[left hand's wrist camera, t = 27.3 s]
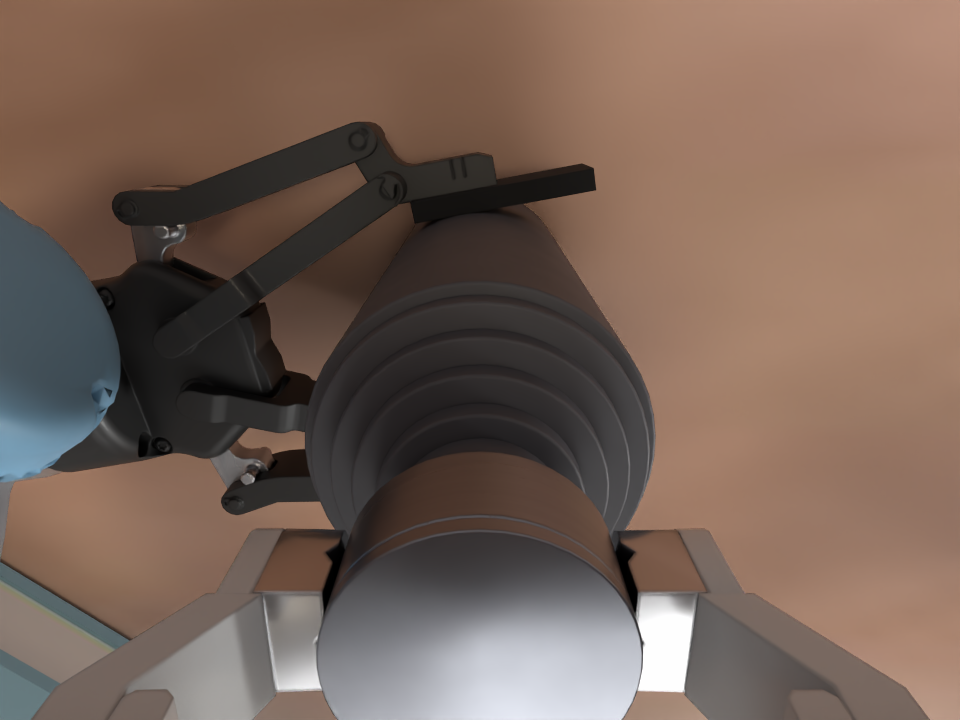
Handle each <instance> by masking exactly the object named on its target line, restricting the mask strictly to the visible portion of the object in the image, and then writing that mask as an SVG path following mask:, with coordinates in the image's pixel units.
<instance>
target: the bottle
mask: <svg viewBox="0 0 960 720" xmlns="http://www.w3.org/2000/svg"><path fill="white" fill-rule="evenodd" d="M305 450H306V457H307V464H308V469H309V472H310V476H311V479H312V483H313V486H314V489H315V491H316V493H317V495H318V497H319V500H320V502H321V504H322V506H323V509H324V511H325V513H326V515H327V517H328V519H329V520H330V522H331V524H332V525H333V527H334V528H335V530H346V532H347V534H348V539H349V536H350V533H351V530H352V527H353V525H354V523H355V521H356V519H357V517H358V515H359V513H360V512H361V510H362V509H363V508H364V506H365V505H366V503H367V502H368V501H369V499H370V498H371V497H372V496H373V495H374V494H375V493H376V492H377V491H378V490H379V489H380V488H381V487H382V486H384V485H385V484H386V483H387V482H389V481H390V480H391V479H393V478H394V477H395V476H397V475H399V474H400V473H402V472H404V471H406V470H407V469H409V468H411V467H413V466H415V465H418V464H420V463H422V462H425V461H427V460H430V459H434V458H437V457H441V456H444V455H450V454H456V453H462V452H479V451H482V452H498V453H504V454H510V455H515V456H519V457H523V458H526V459H529V460H532V461H535V462H537V463H540V464H542V465H544V466H546V467H549V468H551V469H553V470H554V471H556V472H558V473H559V474H561V475H562V476H564V477H566V478H567V479H569V480H570V481H571V482H572V483H573V484H575V485H576V486H577V487H578V488H580V489H581V490H582V491H583V492H584V494H585V495H586V496H587V497H588V498H589V499H590V500H591V501H592V502H593V504H594V505H595V507H596V508H597V510H598V511H599V512H600V514H601V516H602V518H603V520H604V522H605V524H606V526H607V528H608V531H609V534H610V537H611V540H612V535H613V531H623V530H625V529H626V527H627V526H628V525H629V523H630V521H631V519H632V517H633V515H634V513H635V511H636V509H637V508H638V505H639V502H640V500H641V498H642V497H643V494H644V491H645V488H646V486H647V483H648V480H649V478H650V474H651V469H652V464H653V460H654V451H655V424H654V414H653V410H652V405H651V401H650V397H649V393H648V391H647V388H646V386H645V383H644V381H643V378H642V376H641V374H640V372H639V370H638V369H637V367H636V365H635V363H634V362H633V360H632V358H631V356H630V355H629V353H628V352H627V350H626V349H625V347H624V346H623V344H622V342H621V341H620V339H619V338H618V336H617V335H616V333H615V332H614V330H613V329H612V327H611V326H610V324H609V322H608V321H607V319H606V318H605V316H604V315H603V313H602V312H601V310H600V309H599V307H598V306H597V304H596V302H595V301H594V299H593V298H592V296H591V295H590V293H589V292H588V290H587V289H586V287H585V286H584V284H583V282H582V281H581V279H580V278H579V276H578V275H577V273H576V272H575V270H574V269H573V267H572V266H571V264H570V262H569V261H568V259H567V258H566V256H565V255H564V253H563V252H562V250H561V249H560V247H559V246H558V244H557V242H556V241H555V239H554V238H553V236H552V235H551V233H550V232H549V230H548V229H547V227H546V226H545V225H544V223H543V222H542V221H541V219H540V218H539V217H538V216H537V215H536V214H535V213H534V212H533V211H531V210H530V209H529V208H527V207H526V206H525V205H523V204H519V205H513V206H508V207H502V208H497V209H492V210H486V211H481V212H475V213H470V214H464V215H459V216H454V217H448V218H443V219H438V220H432V221H427V222H421V223H417V224H416V225H415V227H414V228H413V230H412V231H411V233H410V234H409V236H408V238H407V239H406V241H405V242H404V244H403V245H402V247H401V248H400V250H399V251H398V253H397V254H396V256H395V257H394V259H393V260H392V262H391V264H390V265H389V267H388V268H387V270H386V271H385V273H384V274H383V276H382V277H381V279H380V280H379V282H378V283H377V285H376V287H375V288H374V290H373V291H372V293H371V294H370V296H369V297H368V299H367V300H366V302H365V303H364V305H363V306H362V308H361V309H360V311H359V313H358V314H357V316H356V317H355V319H354V320H353V322H352V323H351V325H350V326H349V328H348V329H347V331H346V332H345V334H344V335H343V337H342V339H341V340H340V342H339V343H338V345H337V346H336V348H335V349H334V351H333V352H332V354H331V355H330V357H329V358H328V360H327V362H326V363H325V365H324V366H323V368H322V371H321V373H320V375H319V377H318V379H317V381H316V383H315V385H314V388H313V392H312V395H311V398H310V401H309V405H308V410H307V417H306V423H305Z"/></svg>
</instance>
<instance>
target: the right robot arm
mask: <svg viewBox="0 0 960 720" xmlns="http://www.w3.org/2000/svg"><path fill="white" fill-rule="evenodd" d="M354 162H355V163H356V164H357V166H358V168H359V169H360V171H361V172H362V174H363V176H364V177H365V179H366V180H367V182H368V183H366V184H365V185H364V186H362V187H361V188H359V189H358V190H356V191H355V192H354V193H352V194H351V195H349V196H348V197H347V198H345V199H344V200H342V201H341V202H339V203H338V204H337V205H335V206H334V207H332V208H331V209H330V210H328V211H327V212H325V213H324V214H322V215H321V216H320V217H318V218H317V219H315V220H314V221H313V222H311V223H310V224H308V225H307V226H305V227H304V228H303V229H301V230H300V231H298V232H297V233H296V234H294V235H293V236H291V237H290V238H288V239H287V240H286V241H284V242H283V243H281V244H280V245H279V246H277V247H276V248H274V249H273V250H271V251H270V252H269V253H267V254H266V255H264V256H263V257H261V258H260V259H259V260H257V261H256V262H254V263H253V264H252V265H250V266H249V267H247V268H246V269H244V270H243V271H242V272H240V273H239V274H237V275H236V276H234V277H233V278H231V279H230V280H228V281H227V280H225V279H223V278H220V277H218V276H216V275H213V274H211V273H209V272H207V271H204V270H202V269H200V268H198V267H195V266H193V265H191V264H189V263H186V262H184V261H182V260H180V259H177V258H175V257H173V251H174V248H175V246H176V245H177V244H178V243H181V242H183V241H186V240H188V239H190V238H191V237H193V236H194V234H195V232H196V221H199V220H202V219H205V218H208V217H211V216H213V215H216V214H219V213H222V212H225V211H228V210H230V209H233V208H236V207H238V206H241V205H244V204H246V203H249V202H251V201H254V200H257V199H259V198H262V197H265V196H267V195H270V194H273V193H275V192H278V191H281V190H283V189H286V188H288V187H291V186H294V185H296V184H299V183H302V182H304V181H307V180H310V179H312V178H315V177H318V176H320V175H323V174H325V173H328V172H331V171H333V170H336V169H339V168H341V167H344V166H347V165H349V164H352V163H354ZM594 190H596V185H595V176H594V168H592V167H589V166H587V165H584V164H577V165H572V166H567V167H561V168H556V169H551V170H545V171H540V172H535V173H529V174H524V175H519V176H513V177H508V178H503V179H497V180H496V174H495V168H494V162H493V157H492V155H489V154H484V153H479V152H476V153H471V154H466V155H460V156H455V157H450V158H445V159H439V160H434V161H429V162H424V163H419V164H409V163H406V162H404V161H402V160H401V159H399V158H398V157H397V155H396V154H395V153H394V151H393V149H392V148H391V146H390V144H389V143H388V141H387V139H386V138H385V134H384V132H383V130H382V128H381V127H380V126H378V125H377V124H376V123H372V122H354V123H350V124H347V125H345V126H342V127H340V128H337V129H334V130H332V131H329V132H327V133H324V134H322V135H319V136H316V137H314V138H311V139H309V140H306V141H303V142H301V143H298V144H296V145H293V146H290V147H288V148H285V149H283V150H280V151H278V152H275V153H272V154H270V155H267V156H265V157H262V158H259V159H257V160H254V161H252V162H249V163H247V164H244V165H241V166H239V167H236V168H234V169H231V170H228V171H226V172H223V173H221V174H218V175H215V176H213V177H210V178H208V179H205V180H203V181H200V182H197V183H195V184H192V185H156V186H151V187H145V188H140V189H135V190H130V191H125V192H120V193H119V194H117V195H116V196H115V197H114V199H113V202H112V209H113V212H114V214H115V216H116V217H117V218H118V220H119V221H121V222H123V223H124V224H126V225H131V230H132V235H133V241H134V247H135V252H136V258H137V262H136V263H135V264H133V265H131V266H130V267H129V268H128V269H127V270H126V271H125V272H124V273H123V274H122V275H120V276H117V277H111V278H106V279H101V280H95V281H90V280H89V279H88V277H87V276H86V274H85V273H84V272H83V270H82V269H81V268H80V267H79V266H78V264H77V263H76V262H75V261H74V260H73V258H72V257H71V256H70V255H69V254H68V253H67V252H66V251H65V249H64V248H63V247H62V246H61V245H60V244H58V243H57V242H56V241H55V240H54V239H53V238H52V237H51V236H50V235H49V234H47V233H46V232H45V231H44V230H43V229H42V228H41V227H39V226H35V225H32V224H30V223H28V222H27V221H25V220H24V219H22V218H21V217H19V216H18V215H17V214H16V213H15V212H14V211H13V210H10V209H9V208H8V207H6V206H5V205H4V204H3V203H2V202H1V201H0V559H1V553H2V548H3V543H4V538H5V530H6V522H7V514H8V506H9V498H10V492H11V489H12V486H13V484H14V482H16V481H23V480H30V479H37V478H44V477H49V476H52V475H56V474H59V473H61V472H76V471H82V470H88V469H94V468H100V467H106V466H112V465H119V464H125V463H131V462H137V461H143V460H147V459H152V458H156V457H159V456H163V455H167V454H172V453H182V454H188V455H192V456H195V457H198V458H206V459H208V458H210V460H211V462H212V463H213V465H214V467H215V468H216V470H217V472H218V473H219V475H220V477H221V478H222V480H223V482H224V483H225V485H226V487H227V491H226V492H225V493H224V495H223V497H222V499H221V504H222V506H223V508H224V509H225V510H226V511H227V512H229V513H230V514H234V515H241V514H244V513H247V512H250V511H253V510H256V509H259V508H262V507H265V506H267V505H270V504H273V503H276V502H314V501H320V500H319V497H318V495H317V493H316V491H315V489H314V486H313V483H312V479H311V476H310V472H309V469H308V464H307V457H306V450H305V449H299V450H288V451H283V452H278V453H275V454H272V452H271V450H270V449H269V448H267V447H262V448H257V449H249V448H245V447H243V446H242V445H241V444H239V442H238V441H237V440H238V439H239V438H240V436H241V435H242V434H243V433H244V432H245V431H246V430H247V429H248V428H249V427H250V428H255V429H260V430H265V431H270V432H275V433H286V432H289V431H293V430H296V431H302V432H305V423H306V417H307V410H308V405H309V401H310V398H311V395H312V392H313V388H314V385H315V383H316V381H313V380H312V379H311V378H310V377H309V376H307V375H305V374H302V373H297V372H292V371H287V370H286V369H285V366H284V363H283V360H282V356H281V354H280V352H279V351H278V349H277V348H276V346H275V344H274V343H273V341H272V339H271V326H270V317H269V314H268V311H267V307H266V304H265V302H264V303H259V300H261V299H262V298H263V297H265V296H266V295H268V294H269V293H271V292H272V291H273V290H275V289H276V288H278V287H279V286H281V285H282V284H284V283H285V282H287V281H288V280H289V279H291V278H292V277H294V276H295V275H297V274H298V273H300V272H301V271H302V270H304V269H305V268H307V267H308V266H310V265H311V264H313V263H314V262H316V261H317V260H318V259H320V258H321V257H323V256H324V255H326V254H327V253H329V252H330V251H331V250H333V249H334V248H336V247H337V246H339V245H340V244H342V243H343V242H345V241H346V240H347V239H349V238H350V237H352V236H353V235H355V234H356V233H358V232H359V231H360V230H362V229H363V228H365V227H366V226H368V225H369V224H371V223H372V222H374V221H375V220H376V219H378V218H379V217H381V216H382V215H384V214H385V213H387V212H388V211H390V210H391V209H392V208H394V207H395V206H397V205H398V204H402V203H408V202H410V203H411V208H412V212H413V217H414V222H415V224H416V223H421V222H427V221H432V220H438V219H443V218H448V217H454V216H459V215H464V214H470V213H475V212H481V211H486V210H492V209H497V208H502V207H508V206H513V205H519V204H524V203H529V202H535V201H540V200H546V199H551V198H556V197H562V196H567V195H573V194H578V193H583V192H589V191H594Z"/></svg>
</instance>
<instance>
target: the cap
mask: <svg viewBox="0 0 960 720" xmlns="http://www.w3.org/2000/svg"><path fill="white" fill-rule="evenodd" d="M316 667H317V672H318V677H319V683H320V686H321V689H322V692H323V694H324V697H325V700H326V702H327V704H328V705H329V707H330V709H331V711H332V713H333V715H334V716H335V717H336V719H337V720H623V718H624V717H625V715H626V714H627V712H628V710H629V708H630V707H631V705H632V703H633V701H634V698H635V696H636V693H637V691H638V688H639V685H640V680H641V675H642V670H643V644H642V637H641V632H640V629H639V626H638V623H637V619H636V616H635V613H634V610H633V607H632V604H631V600H630V597H629V594H628V591H627V588H626V584H625V581H624V578H623V575H622V572H621V569H620V565H619V562H618V559H617V556H616V553H615V550H614V546H613V543H612V540H611V537H610V534H609V531H608V528H607V526H606V524H605V522H604V520H603V518H602V516H601V514H600V512H599V511H598V510H597V508H596V507H595V505H594V504H593V502H592V501H591V500H590V499H589V498H588V497H587V496H586V495H585V494H584V492H583V491H582V490H581V489H580V488H578V487H577V486H576V485H575V484H573V483H572V482H571V481H570V480H569V479H567V478H566V477H564V476H562V475H561V474H559V473H558V472H556V471H554V470H553V469H551V468H549V467H546V466H544V465H542V464H540V463H537V462H535V461H532V460H529V459H526V458H523V457H519V456H515V455H510V454H504V453H498V452H482V451H479V452H462V453H456V454H450V455H444V456H441V457H437V458H434V459H430V460H427V461H425V462H422V463H420V464H418V465H415V466H413V467H411V468H409V469H407V470H406V471H404V472H402V473H400V474H399V475H397V476H395V477H394V478H393V479H391V480H390V481H389V482H387V483H386V484H385V485H384V486H382V487H381V488H380V489H379V490H378V491H377V492H376V493H375V494H374V495H373V496H372V497H371V498H370V499H369V501H368V502H367V503H366V505H365V506H364V508H363V509H362V510H361V512H360V513H359V515H358V517H357V519H356V521H355V523H354V525H353V527H352V530H351V533H350V536H349V539H348V542H347V545H346V549H345V552H344V555H343V558H342V561H341V564H340V567H339V570H338V574H337V577H336V580H335V583H334V586H333V589H332V592H331V595H330V599H329V602H328V605H327V608H326V611H325V614H324V617H323V621H322V624H321V627H320V630H319V634H318V640H317V647H316Z"/></svg>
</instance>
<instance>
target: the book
mask: <svg viewBox="0 0 960 720" xmlns="http://www.w3.org/2000/svg"><path fill="white" fill-rule="evenodd" d="M127 642H129V640H128V639H126V638H124V637H123V636H121V635H119V634H118V633H116V632H115V631H113V630H111V629H110V628H108V627H106V626H105V625H103V624H101V623H100V622H98V621H96V620H95V619H93V618H92V617H90V616H88V615H87V614H85V613H83V612H82V611H80V610H78V609H77V608H75V607H73V606H72V605H70V604H69V603H67V602H65V601H64V600H62V599H60V598H59V597H57V596H55V595H54V594H52V593H50V592H49V591H47V590H46V589H44V588H42V587H41V586H39V585H37V584H36V583H34V582H32V581H31V580H29V579H27V578H26V577H24V576H23V575H21V574H19V573H18V572H16V571H14V570H13V569H11V568H9V567H8V566H6V565H4V564H3V563H1V562H0V720H31V719H32V717H33V716H34V715H35V713H36V712H37V711H38V709H39V708H40V707H41V705H42V704H43V703H44V701H45V700H46V699H47V697H48V696H49V695H50V694H51V692H52V691H53V690H54V688H55V687H56V686H58V685H59V684H61V683H62V682H64V681H66V680H67V679H69V678H70V677H72V676H74V675H75V674H77V673H79V672H80V671H82V670H83V669H85V668H87V667H88V666H90V665H91V664H93V663H95V662H96V661H98V660H100V659H101V658H103V657H104V656H106V655H108V654H109V653H111V652H112V651H114V650H116V649H117V648H119V647H120V646H122V645H124V644H125V643H127Z"/></svg>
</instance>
